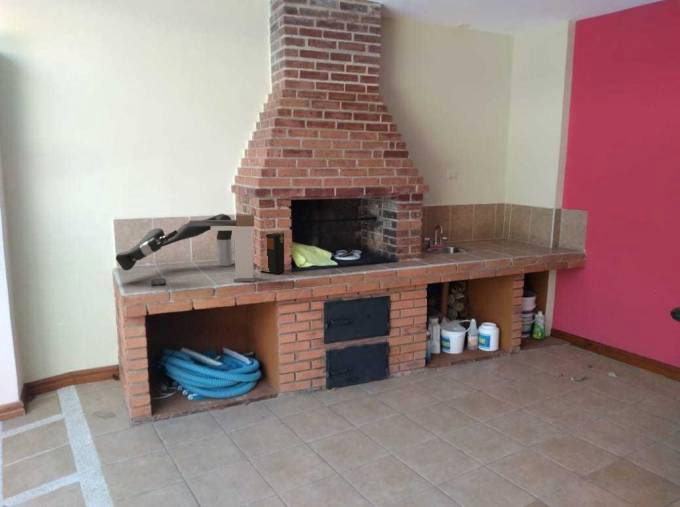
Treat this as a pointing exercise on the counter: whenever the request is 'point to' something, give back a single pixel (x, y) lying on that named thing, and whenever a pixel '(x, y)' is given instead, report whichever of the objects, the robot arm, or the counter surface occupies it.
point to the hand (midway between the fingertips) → (175, 232)
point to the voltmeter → (275, 252)
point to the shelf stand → (241, 251)
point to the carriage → (226, 221)
